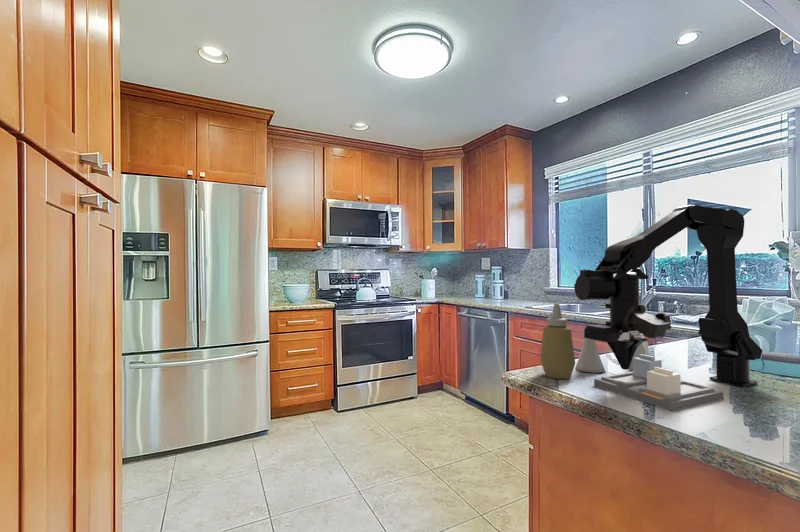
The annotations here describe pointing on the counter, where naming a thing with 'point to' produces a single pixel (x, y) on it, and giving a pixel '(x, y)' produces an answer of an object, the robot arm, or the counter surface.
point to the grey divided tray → (638, 390)
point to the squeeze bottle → (557, 347)
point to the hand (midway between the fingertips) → (625, 369)
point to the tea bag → (640, 351)
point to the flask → (589, 358)
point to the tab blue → (645, 365)
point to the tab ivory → (663, 381)
